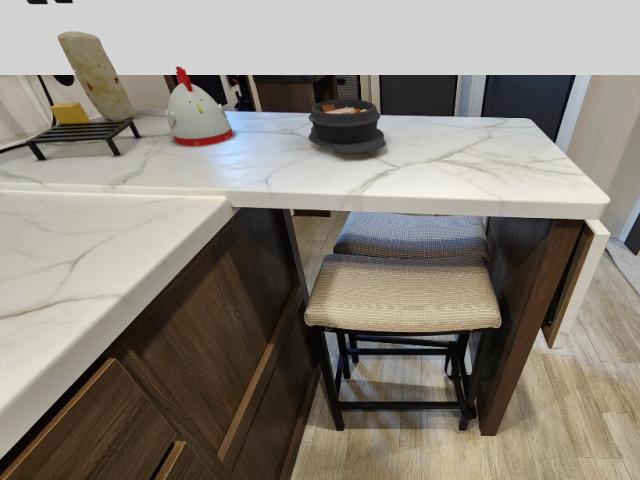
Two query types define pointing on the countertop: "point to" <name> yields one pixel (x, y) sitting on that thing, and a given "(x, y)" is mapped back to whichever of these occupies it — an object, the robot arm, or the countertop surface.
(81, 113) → the block
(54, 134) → the rack
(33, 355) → the countertop surface
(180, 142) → the kitchen timer
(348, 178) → the countertop surface
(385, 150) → the countertop surface
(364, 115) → the casserole
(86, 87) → the food model
